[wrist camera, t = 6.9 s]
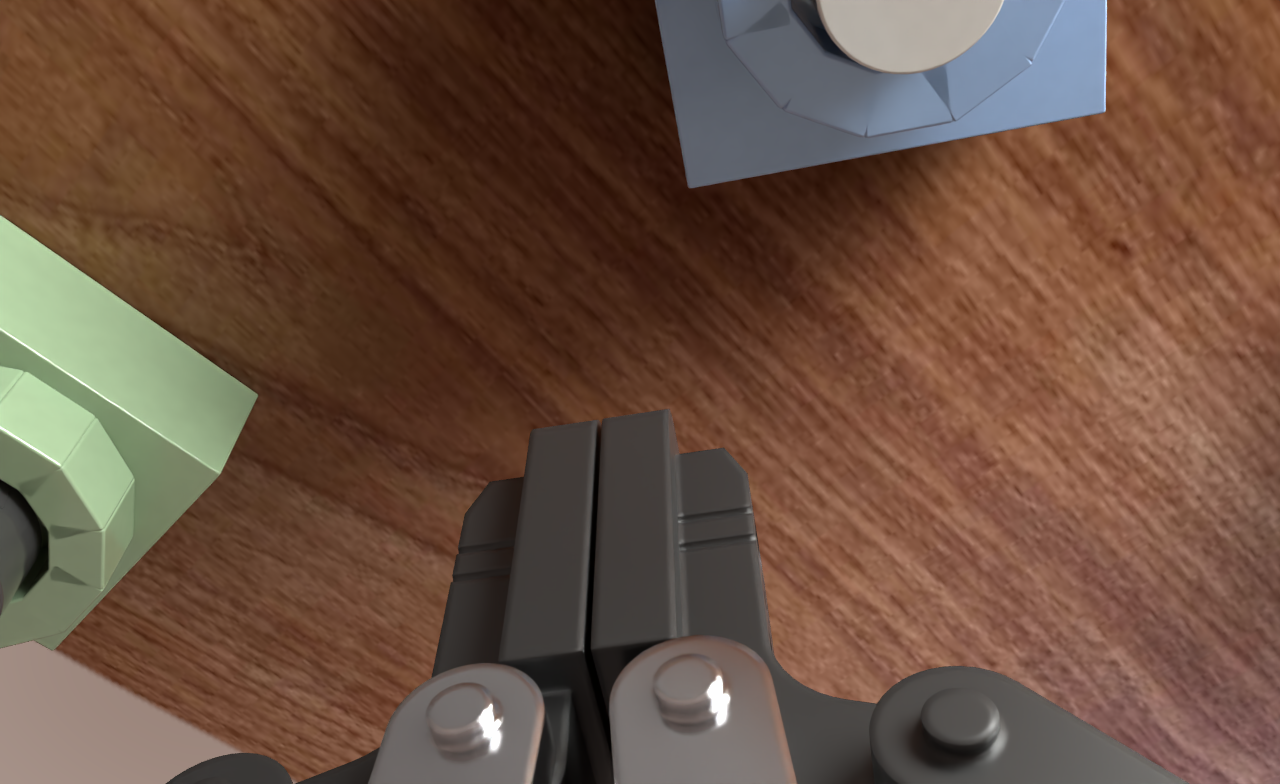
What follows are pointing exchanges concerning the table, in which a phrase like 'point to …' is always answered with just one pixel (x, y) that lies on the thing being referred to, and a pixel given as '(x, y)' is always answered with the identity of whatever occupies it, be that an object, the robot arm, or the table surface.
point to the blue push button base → (863, 84)
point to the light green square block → (97, 432)
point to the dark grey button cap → (16, 542)
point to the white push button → (905, 30)
